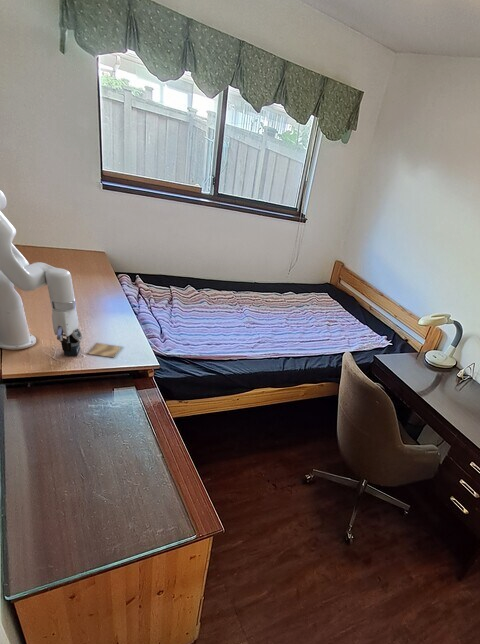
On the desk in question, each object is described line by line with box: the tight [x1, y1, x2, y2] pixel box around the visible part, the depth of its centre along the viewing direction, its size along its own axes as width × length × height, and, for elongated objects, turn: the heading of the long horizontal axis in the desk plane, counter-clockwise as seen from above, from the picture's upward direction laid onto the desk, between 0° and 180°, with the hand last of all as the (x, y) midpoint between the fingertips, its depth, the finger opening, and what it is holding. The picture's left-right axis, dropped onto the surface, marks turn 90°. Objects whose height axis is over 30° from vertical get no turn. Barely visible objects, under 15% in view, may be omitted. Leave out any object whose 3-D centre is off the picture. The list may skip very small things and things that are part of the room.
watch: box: [63, 327, 83, 357], centre depth 148 cm, size 6×8×11 cm
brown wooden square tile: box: [87, 342, 122, 359], centre depth 157 cm, size 10×9×1 cm
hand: (70, 347), depth 149 cm, fingers closed on watch, 4 cm apart
